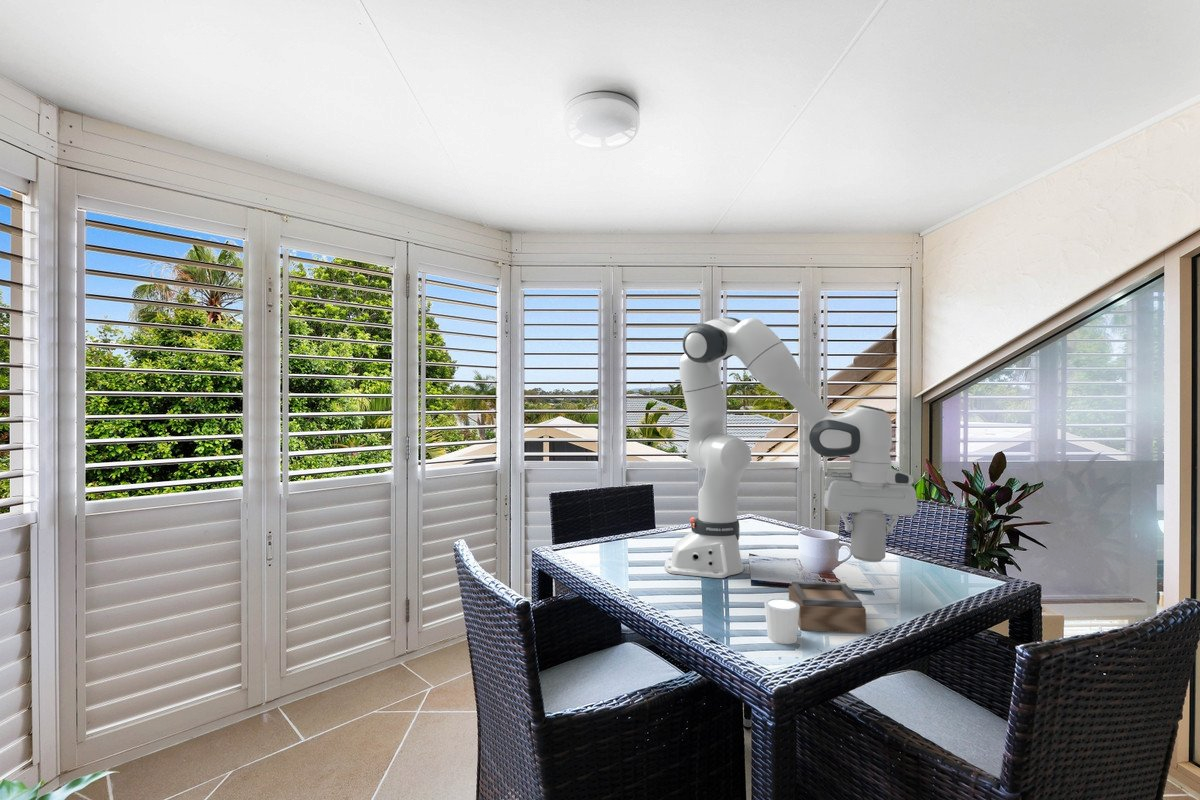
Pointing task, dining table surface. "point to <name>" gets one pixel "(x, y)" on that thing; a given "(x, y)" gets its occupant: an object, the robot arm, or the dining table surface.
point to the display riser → (828, 607)
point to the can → (868, 536)
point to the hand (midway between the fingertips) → (868, 531)
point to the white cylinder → (782, 620)
